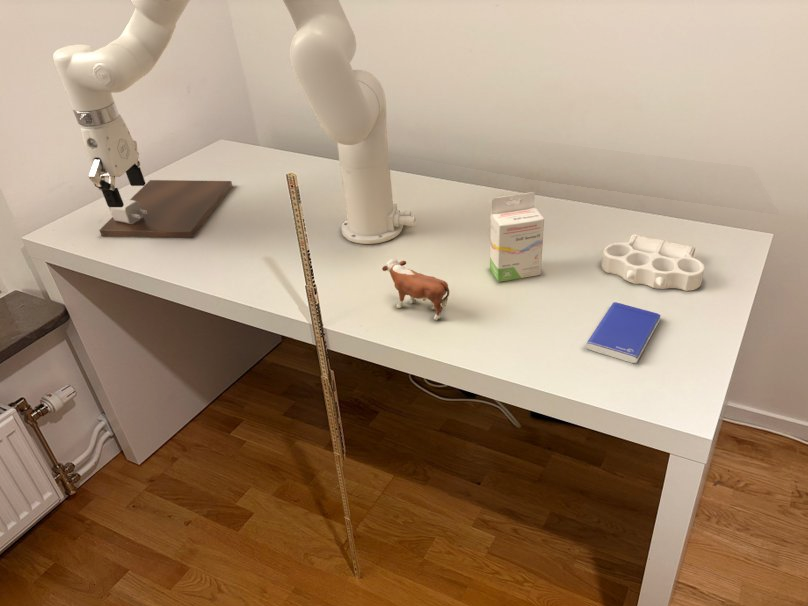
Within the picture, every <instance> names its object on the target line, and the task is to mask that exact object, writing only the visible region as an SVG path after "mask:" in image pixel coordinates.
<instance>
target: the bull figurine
mask: <svg viewBox="0 0 808 606" xmlns="http://www.w3.org/2000/svg"><path fill="white" fill-rule="evenodd" d="M406 264H407V260H401V261H398V260H397V259H396V258H392V259H389V260H388V261H387V262H386V265H384V266H382V268H381V270H382V271H383V272H386V271H387V272H388V273H389V274H390V277H391V279H392V281H393V283H394V288H395V289H396V290H397V292H398V303H397V304H396V305H395V308H396V309H397V310H399V309H402V308H403V307H404V303H403V302H404V300H405V297H406V296H409V297H410V300H409V304H410V305H411V304H414V303H416V302H417V300H422V301H423V302H426V300H429V301H430V302H431V303H432V306H430V310H432V311H435V315H434V317H433V318H432V319H433V320H434V321H438V320H439V319H441V317H442V316H441V312H442V311H443V308H445V307H446V306H447V303H448V297H450V289H449V284H448V282H447V281H445V280H443V279H440V278H438V277H437V278H436V277H435V276H433V275H431V276H430V275H425V274H423V273H420V272H416V271H415V270H413V269H410V268H406V267H405V265H406ZM444 296H445V297H444Z"/></svg>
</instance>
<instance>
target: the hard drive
mask: <svg viewBox="0 0 808 606" xmlns="http://www.w3.org/2000/svg"><path fill="white" fill-rule="evenodd" d="M660 321H661V314H659V313H657V312H654V311H650V310H646V309H642V308H639V307H635V306H631V305H628V304H624V303H620V302H615V301H613V302H612V304H611V305H610V307H609V308H608V310H607V311H606V313H605V314H604V316H603V317H602V319H601V321H600V322H599V323H598V325H597V326H596V328H595V330H594V331H593V332H592V334H591V336H590V337H589V338H588V340H587V341H586V346H585V348H586V349H587V350H589V351H592V352H595V353H598V354H602V355H605V356H608V357H612V358H615V359H618V360H621V361H625V362H627V363H632V364H637V363H638V361H639V359H640V358H641V355H642V354H643V352H644V350H645V348H646V347H647V344H648V342H649V341H650V339H651V337H652V335H653V333H654V332H655V330H656V328H657V326H658V324H659V322H660Z"/></svg>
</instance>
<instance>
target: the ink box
mask: <svg viewBox="0 0 808 606" xmlns="http://www.w3.org/2000/svg"><path fill="white" fill-rule="evenodd" d="M535 198H536V192H534V191H530V192H524V193H523V192H522V193H516V194H510V195H504V196H498V197H493V198H492V199H491V214H490V229H489V230H490V235H489V237H490V239H489V240H490V242H489V243H490V244H489V255H490V256H489V270H490V271H491V273H492V274H493V276H494V278H495V279H496V280H497V282H498V283H502V282H506V281H512V280H517V279H523V278H529V277H536V276H540V275H542V262H543V261H542V260H543V247H544V231H545V217H544V216H543V215H542V214H541V213H540V211H539V210H538V209H537V208H536V207H535ZM512 200H515V201H520V202H515V203H510V204H507V203H509V202H511V201H512Z"/></svg>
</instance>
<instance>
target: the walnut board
mask: <svg viewBox="0 0 808 606" xmlns="http://www.w3.org/2000/svg"><path fill="white" fill-rule="evenodd" d="M232 182H233V181H232V180H188V179H187V180H186V179H185V180H182V179H181V180H177V179H176V180H175V179H173V180H172V179H171V180H170V179H149V180H148V182H146V184H145V185H144V186H142V187H141V188H140V189H139V191H137V192H136V193H135V194H134V195H132V197H131V198H130V199H129V200H134V201H138V202H139V204H140V207H141V210H145V211H147V214H144V213H143V217H142V218H141V219H140V220H138V221H137V222H135V223H133V224H128V223H123V222H119V221H115V220H114V219H113V216H112V217H111V218H110V219H109V220H108V221H107V222H105V224H104V225H103V226H102V227H101V228H100V229H99V230H98V231H99V233H100V236H101V237H122V238H163V239H164V238H169V239H193V238H194V237H195V235H196V234H197V233H198V232H199V231H200V229H201V228H202V227H203V225H204V224H205V223H206V222H207V220H209V218H210V217H211V215H212V214H213V213H214V211H215V210H216V209H217V208H218V206H219V205H220V204H221V203H222V201H223V200H224V199H225V198H226V196H227V195H228V193H230V191H231V190H232V188H233V187H234V186H233V183H232ZM145 213H146V212H145Z"/></svg>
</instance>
